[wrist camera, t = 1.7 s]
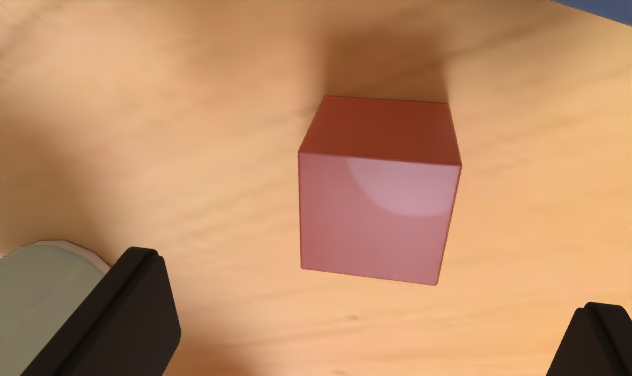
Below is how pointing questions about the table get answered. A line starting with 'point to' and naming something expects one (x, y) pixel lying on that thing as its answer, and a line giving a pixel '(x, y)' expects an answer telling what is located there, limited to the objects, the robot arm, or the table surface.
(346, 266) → the red block
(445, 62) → the table surface
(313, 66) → the table surface
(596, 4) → the blue block
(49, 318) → the disposable coffee cup
